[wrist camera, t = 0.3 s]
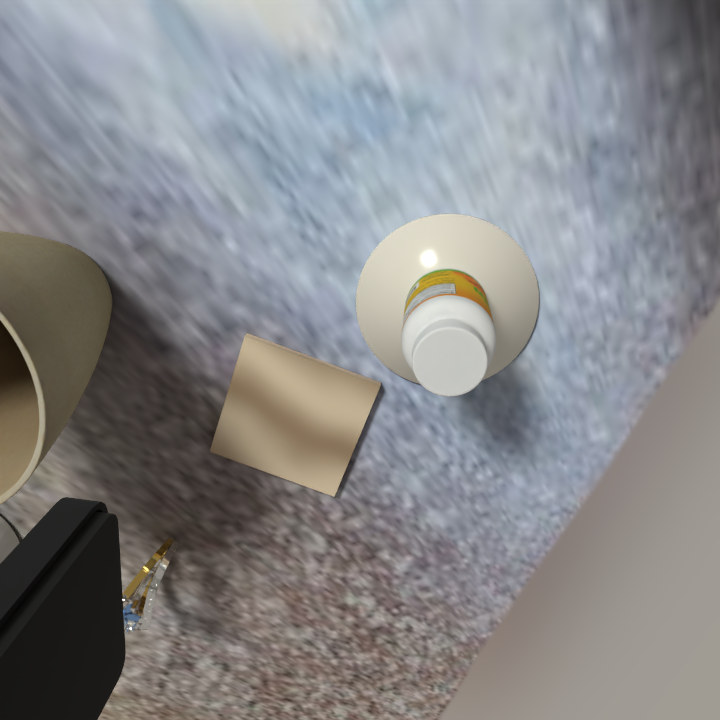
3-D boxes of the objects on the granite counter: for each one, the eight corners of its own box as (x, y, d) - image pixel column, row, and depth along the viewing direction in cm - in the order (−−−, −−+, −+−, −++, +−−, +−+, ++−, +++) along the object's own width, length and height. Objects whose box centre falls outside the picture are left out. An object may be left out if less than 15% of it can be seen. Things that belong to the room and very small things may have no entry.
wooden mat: (247, 332, 45) (244, 336, 45) (380, 382, 46) (380, 386, 45) (211, 447, 49) (209, 451, 49) (335, 492, 50) (334, 496, 49)
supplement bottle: (497, 330, 43) (514, 393, 34) (419, 353, 44) (417, 420, 36) (474, 254, 41) (485, 301, 33) (394, 280, 43) (384, 332, 34)
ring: (166, 585, 55) (125, 661, 48) (133, 566, 55) (87, 640, 47) (203, 532, 53) (167, 604, 45) (169, 512, 52) (126, 581, 45)
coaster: (393, 185, 41) (393, 185, 40) (571, 253, 41) (572, 254, 41) (332, 350, 45) (331, 352, 45) (492, 410, 46) (492, 411, 46)
